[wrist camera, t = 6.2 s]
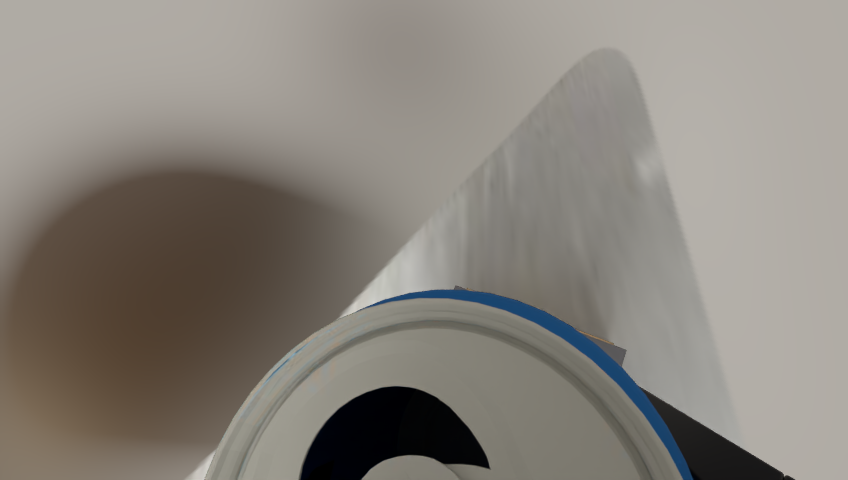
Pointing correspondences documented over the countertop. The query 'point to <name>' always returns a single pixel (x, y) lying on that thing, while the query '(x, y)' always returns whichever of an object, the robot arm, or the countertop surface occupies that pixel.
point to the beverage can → (448, 401)
